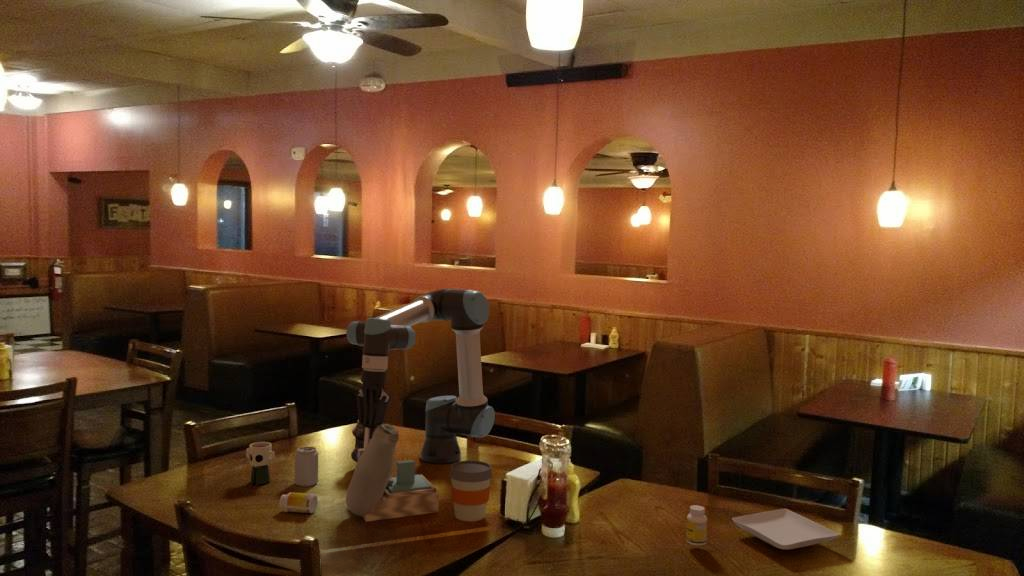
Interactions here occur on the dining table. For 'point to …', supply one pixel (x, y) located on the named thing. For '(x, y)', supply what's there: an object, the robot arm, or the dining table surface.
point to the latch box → (405, 503)
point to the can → (306, 466)
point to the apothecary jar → (357, 440)
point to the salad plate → (785, 529)
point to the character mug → (260, 461)
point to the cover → (406, 478)
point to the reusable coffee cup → (470, 489)
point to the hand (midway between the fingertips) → (368, 449)
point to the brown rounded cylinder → (372, 471)
